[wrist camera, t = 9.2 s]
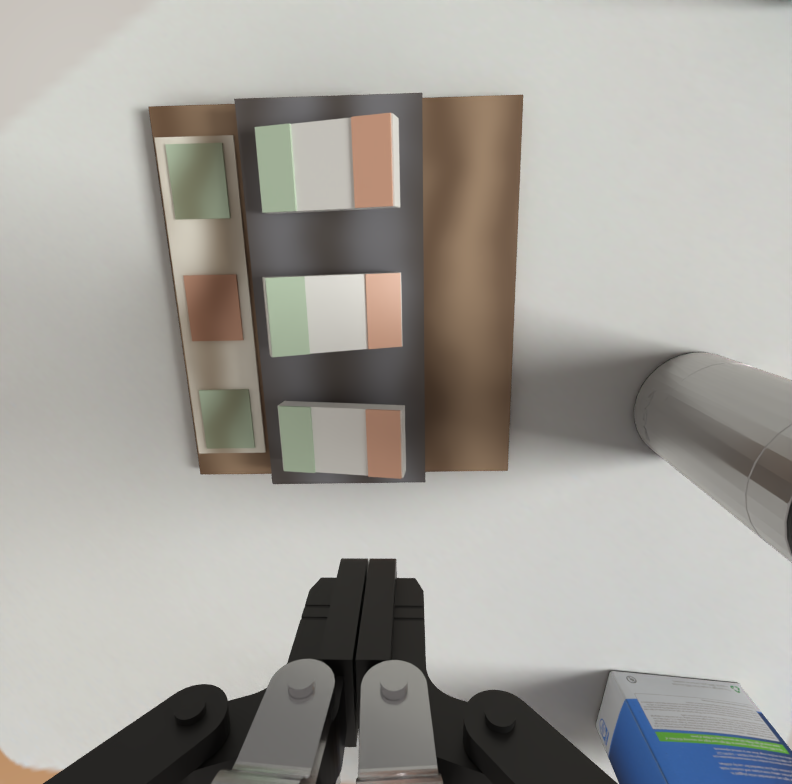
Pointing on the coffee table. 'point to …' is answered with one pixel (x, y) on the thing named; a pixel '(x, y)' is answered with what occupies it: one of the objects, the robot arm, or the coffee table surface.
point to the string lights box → (688, 733)
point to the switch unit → (348, 254)
